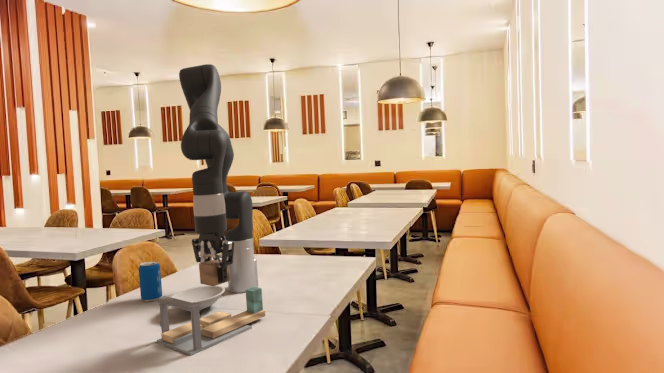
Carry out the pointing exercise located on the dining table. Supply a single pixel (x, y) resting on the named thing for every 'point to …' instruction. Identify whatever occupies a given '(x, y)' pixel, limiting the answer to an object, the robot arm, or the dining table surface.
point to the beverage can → (150, 281)
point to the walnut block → (210, 273)
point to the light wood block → (214, 318)
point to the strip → (239, 315)
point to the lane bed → (195, 339)
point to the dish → (200, 295)
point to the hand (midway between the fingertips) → (215, 280)
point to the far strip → (178, 332)
